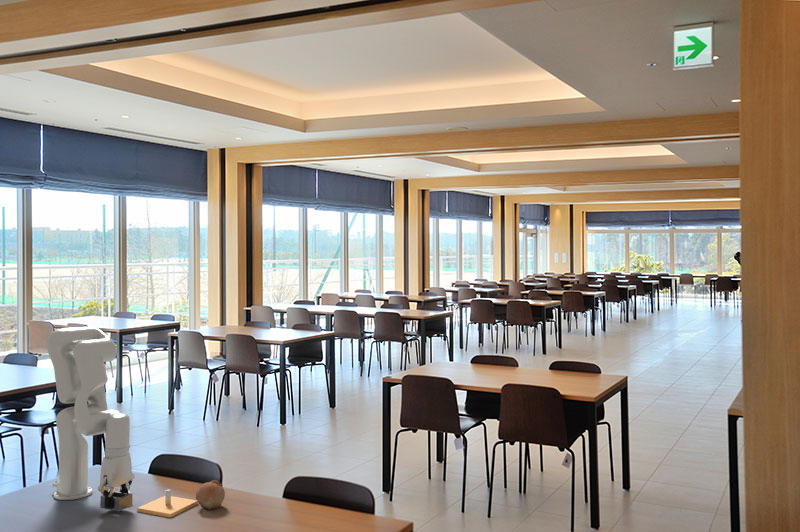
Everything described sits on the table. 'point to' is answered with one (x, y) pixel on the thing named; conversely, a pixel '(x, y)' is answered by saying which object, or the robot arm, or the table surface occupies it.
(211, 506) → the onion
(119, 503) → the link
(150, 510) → the wooden peg base
